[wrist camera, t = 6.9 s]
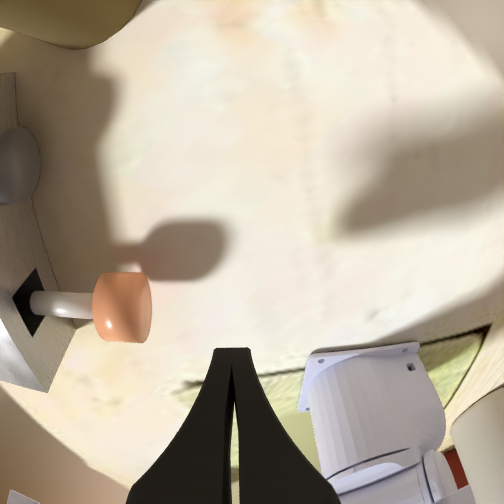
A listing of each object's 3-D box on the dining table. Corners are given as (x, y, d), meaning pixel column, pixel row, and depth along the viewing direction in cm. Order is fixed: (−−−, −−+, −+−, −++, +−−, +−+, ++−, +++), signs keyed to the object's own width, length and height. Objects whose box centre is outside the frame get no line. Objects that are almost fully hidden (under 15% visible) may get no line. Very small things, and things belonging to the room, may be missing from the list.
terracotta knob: (143, 258, 16) (124, 302, 12) (155, 311, 17) (142, 357, 14) (40, 260, 15) (10, 296, 12) (58, 307, 17) (35, 345, 14)
